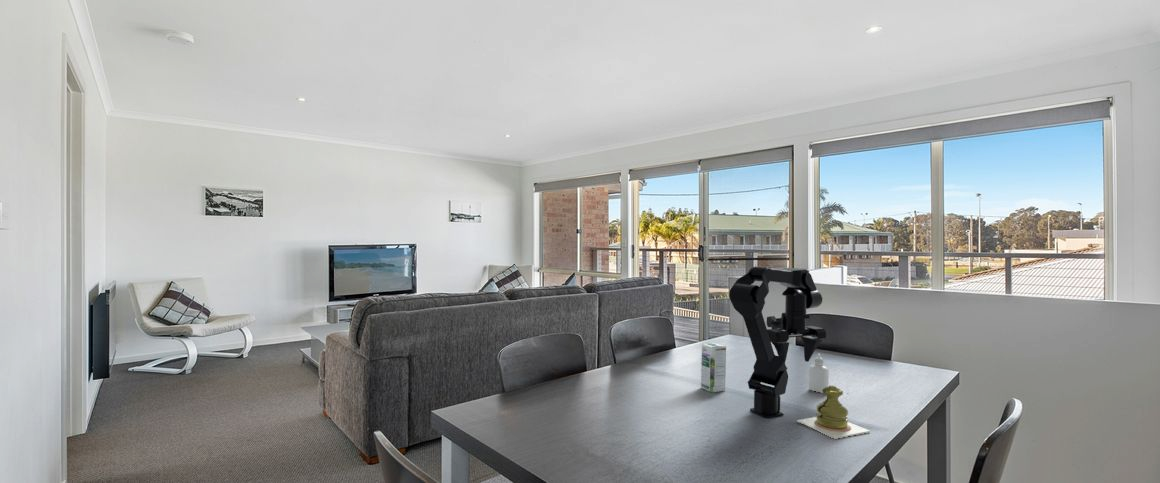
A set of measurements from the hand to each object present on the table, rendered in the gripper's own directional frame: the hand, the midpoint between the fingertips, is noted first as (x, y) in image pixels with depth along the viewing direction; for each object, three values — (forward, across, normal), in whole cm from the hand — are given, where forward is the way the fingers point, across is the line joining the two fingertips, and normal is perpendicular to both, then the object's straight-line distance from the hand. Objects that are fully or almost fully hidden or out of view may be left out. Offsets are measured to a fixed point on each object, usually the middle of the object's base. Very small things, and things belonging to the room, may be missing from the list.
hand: (794, 362), depth 147 cm
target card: (+12, +5, +18) cm, 22 cm away
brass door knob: (+12, +5, +18) cm, 22 cm away
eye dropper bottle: (+12, -16, -6) cm, 21 cm away
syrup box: (+12, +15, -19) cm, 27 cm away
